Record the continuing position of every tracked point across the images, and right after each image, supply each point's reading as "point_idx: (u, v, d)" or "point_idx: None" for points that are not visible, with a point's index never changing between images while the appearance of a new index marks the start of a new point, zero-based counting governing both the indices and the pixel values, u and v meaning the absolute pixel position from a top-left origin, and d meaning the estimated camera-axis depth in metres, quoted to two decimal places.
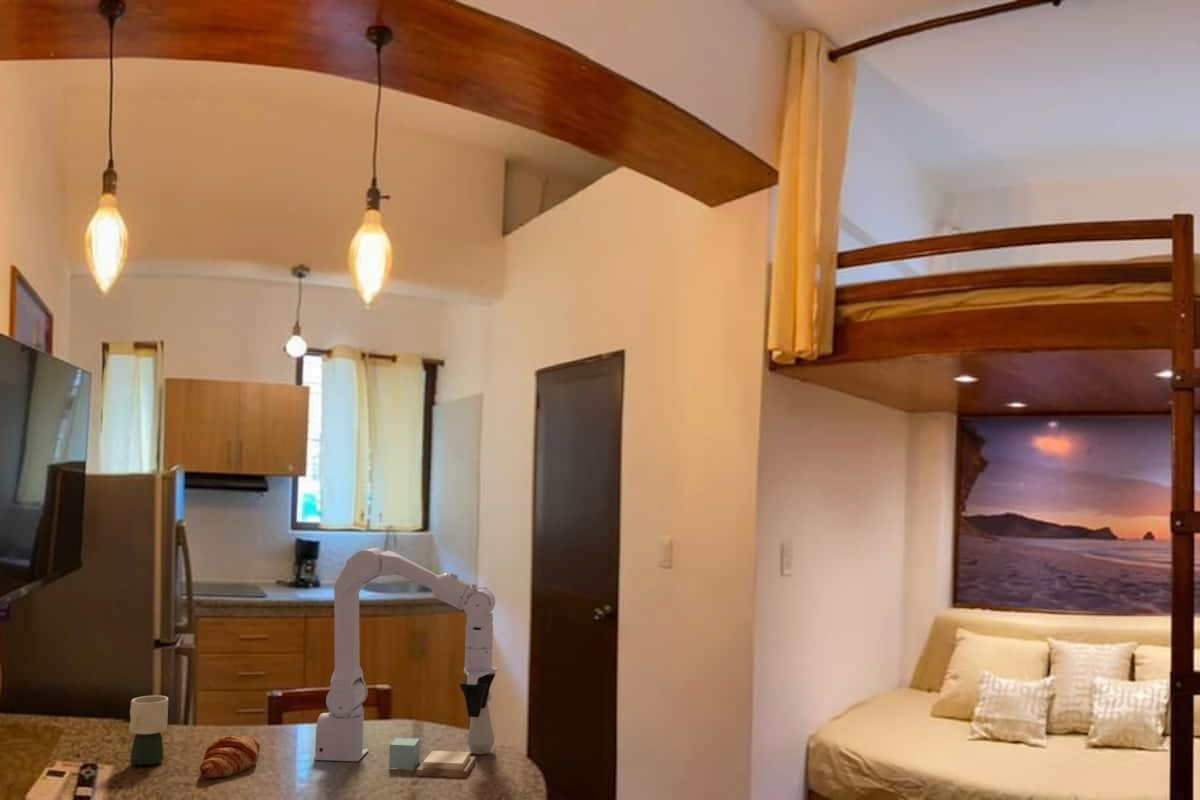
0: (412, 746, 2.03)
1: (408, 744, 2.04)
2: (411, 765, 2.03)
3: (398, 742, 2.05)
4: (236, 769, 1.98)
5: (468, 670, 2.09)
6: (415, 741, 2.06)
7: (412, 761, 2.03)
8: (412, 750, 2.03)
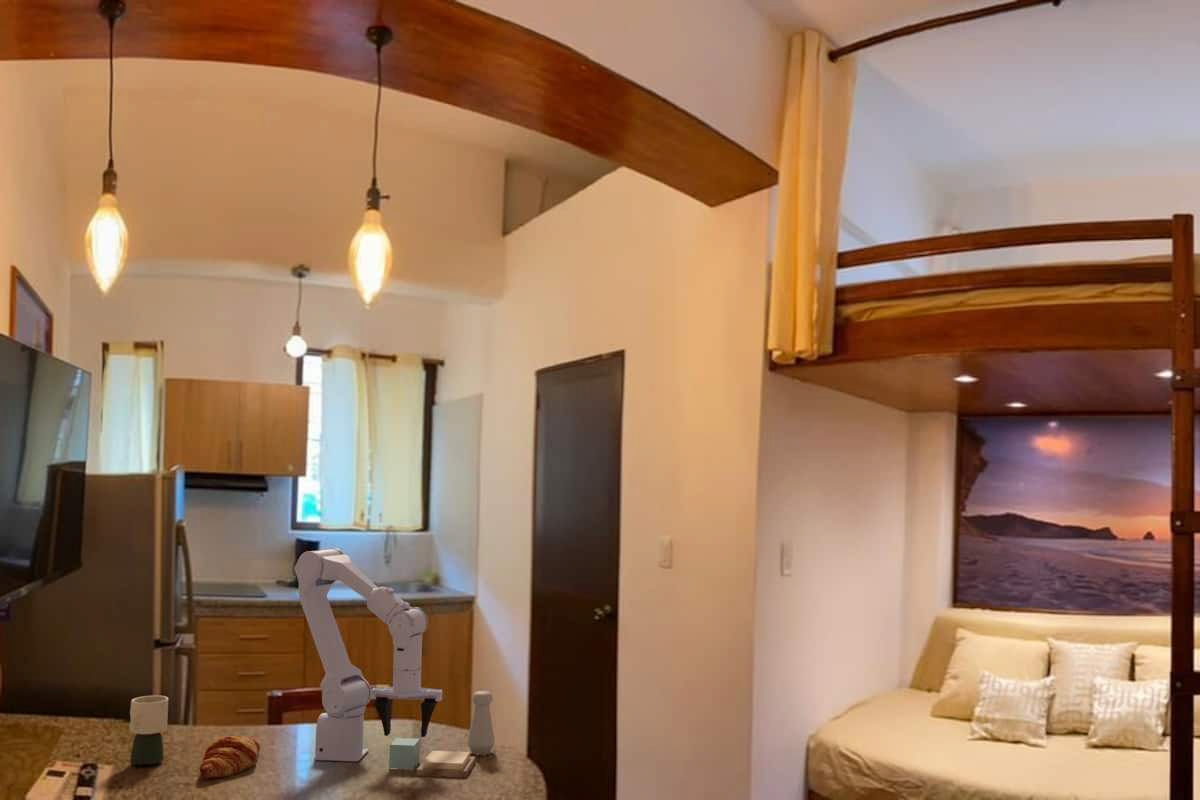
0: (412, 746, 2.03)
1: (408, 744, 2.04)
2: (411, 765, 2.03)
3: (398, 742, 2.05)
4: (236, 769, 1.98)
5: None
6: (415, 741, 2.06)
7: (412, 761, 2.03)
8: (412, 750, 2.03)
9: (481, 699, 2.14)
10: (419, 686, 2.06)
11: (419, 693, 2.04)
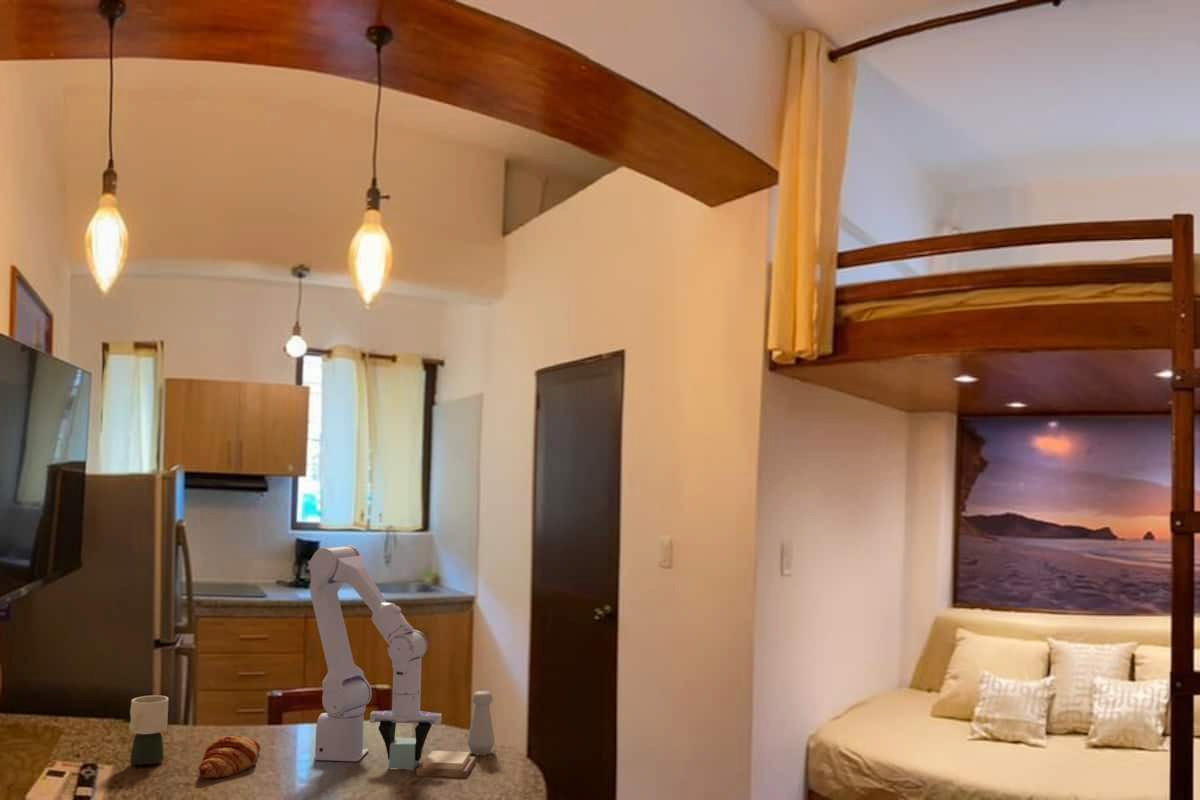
0: (412, 746, 2.03)
1: (408, 744, 2.04)
2: (411, 764, 2.03)
3: (398, 742, 2.05)
4: (235, 770, 1.98)
5: None
6: (415, 740, 2.06)
7: (412, 761, 2.03)
8: (412, 750, 2.03)
9: (481, 699, 2.14)
10: (418, 710, 2.06)
11: (418, 717, 2.04)
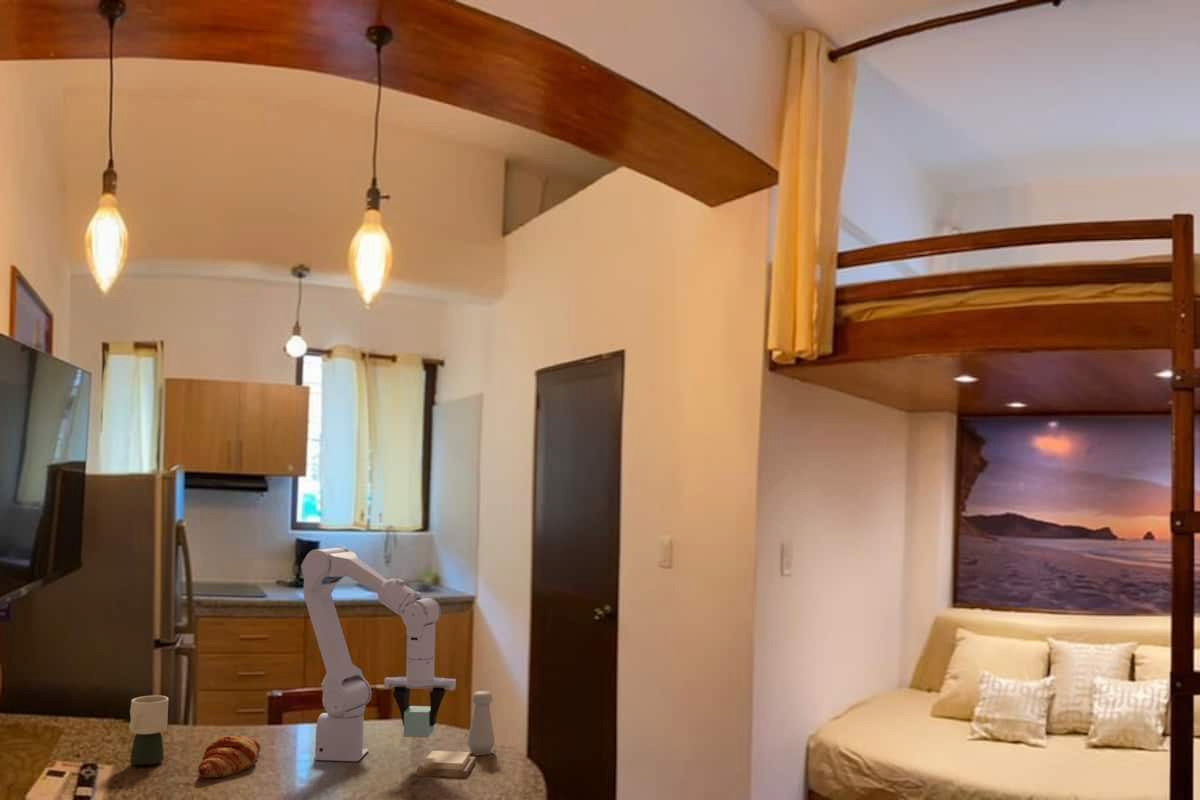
0: (426, 713, 2.03)
1: (422, 711, 2.04)
2: (425, 732, 2.03)
3: (412, 709, 2.05)
4: (235, 769, 1.98)
5: None
6: (429, 708, 2.06)
7: (426, 728, 2.03)
8: (426, 717, 2.03)
9: (481, 699, 2.14)
10: (432, 675, 2.06)
11: (432, 682, 2.04)
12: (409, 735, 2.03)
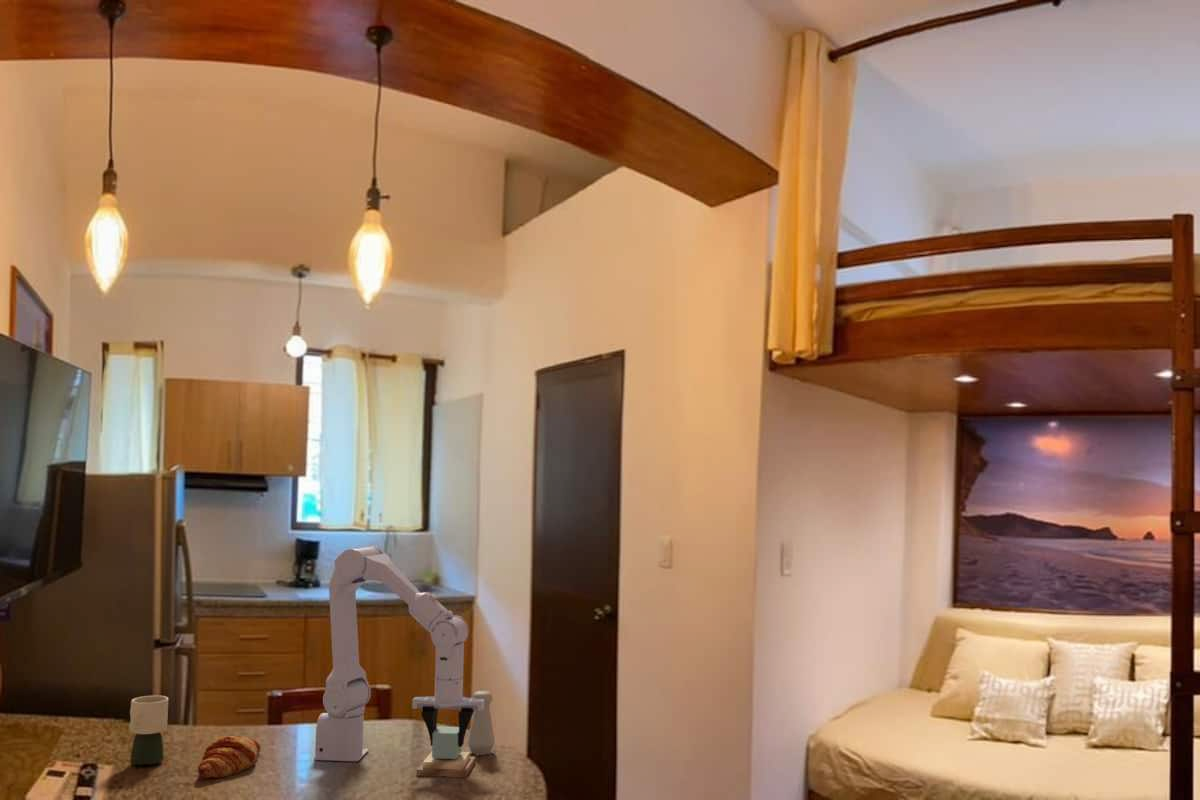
0: (455, 734, 2.02)
1: (451, 732, 2.03)
2: (454, 753, 2.02)
3: (440, 730, 2.04)
4: (235, 770, 1.98)
5: None
6: (458, 729, 2.05)
7: (455, 749, 2.02)
8: (455, 738, 2.02)
9: None
10: (461, 695, 2.04)
11: (461, 703, 2.03)
12: (438, 756, 2.02)
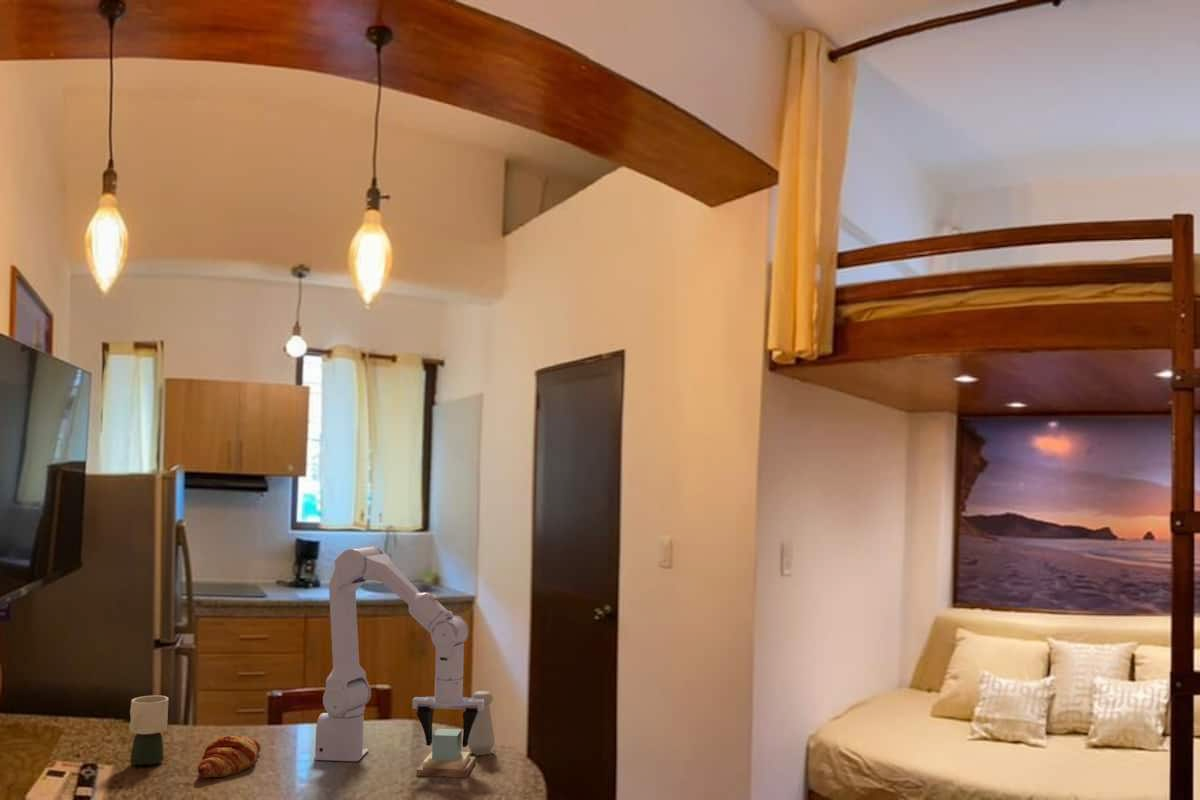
0: (455, 736, 2.02)
1: (451, 734, 2.03)
2: (454, 755, 2.02)
3: (440, 732, 2.04)
4: (234, 769, 1.98)
5: None
6: (457, 732, 2.05)
7: (455, 752, 2.02)
8: (455, 740, 2.02)
9: None
10: (461, 696, 2.04)
11: (461, 703, 2.03)
12: (437, 758, 2.02)
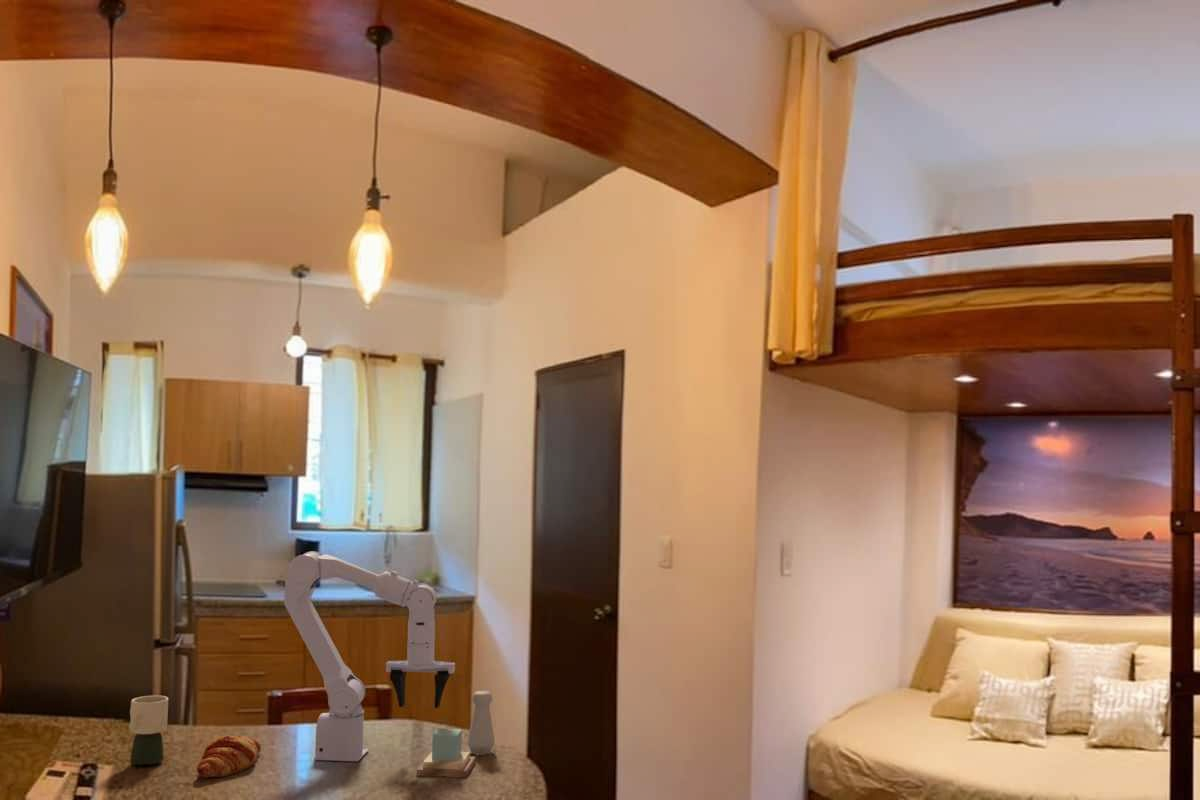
0: (455, 736, 2.02)
1: (451, 734, 2.03)
2: (454, 755, 2.02)
3: (440, 732, 2.04)
4: (234, 769, 1.98)
5: None
6: (457, 732, 2.05)
7: (455, 752, 2.02)
8: (455, 740, 2.02)
9: (481, 699, 2.14)
10: (432, 659, 2.13)
11: (432, 665, 2.12)
12: (437, 758, 2.02)
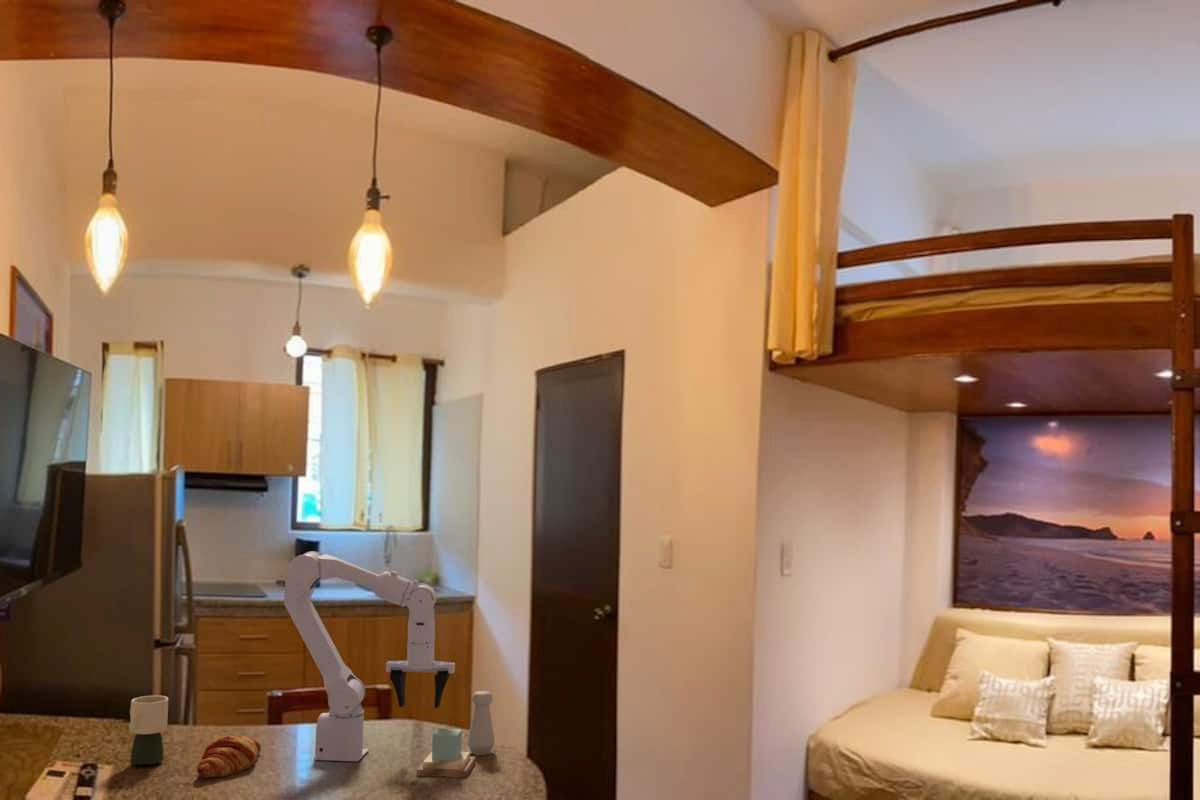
0: (455, 736, 2.02)
1: (451, 734, 2.03)
2: (454, 755, 2.02)
3: (440, 732, 2.04)
4: (234, 769, 1.98)
5: None
6: (457, 732, 2.05)
7: (455, 752, 2.02)
8: (455, 740, 2.02)
9: (481, 699, 2.14)
10: (432, 659, 2.13)
11: (432, 665, 2.12)
12: (437, 758, 2.02)
